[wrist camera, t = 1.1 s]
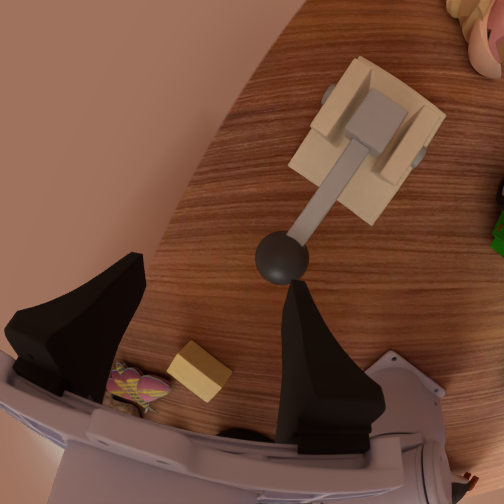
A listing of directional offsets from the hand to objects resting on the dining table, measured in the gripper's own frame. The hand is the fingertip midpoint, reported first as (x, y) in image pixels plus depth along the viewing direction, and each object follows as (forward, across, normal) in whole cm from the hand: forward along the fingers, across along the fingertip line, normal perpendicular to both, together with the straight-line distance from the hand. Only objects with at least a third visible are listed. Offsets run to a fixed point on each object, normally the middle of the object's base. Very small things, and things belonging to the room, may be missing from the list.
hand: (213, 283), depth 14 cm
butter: (+8, +2, +21) cm, 22 cm away
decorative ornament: (+10, +15, +27) cm, 33 cm away
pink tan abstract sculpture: (+8, -17, -25) cm, 32 cm away
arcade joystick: (+5, -5, -3) cm, 8 cm away
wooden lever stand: (+12, -9, -6) cm, 16 cm away
